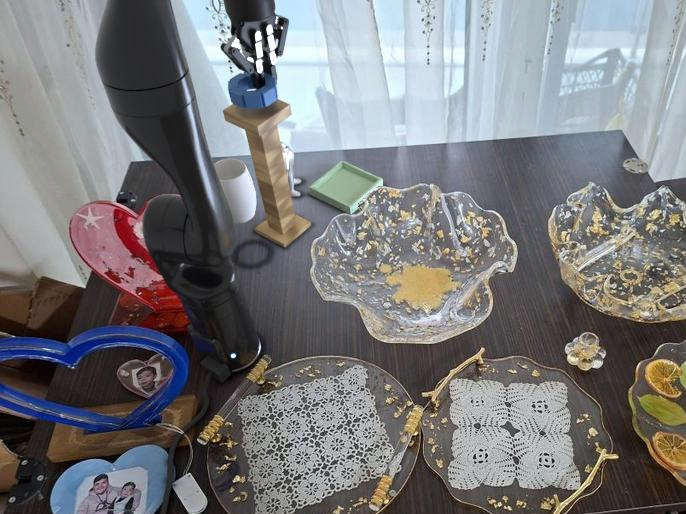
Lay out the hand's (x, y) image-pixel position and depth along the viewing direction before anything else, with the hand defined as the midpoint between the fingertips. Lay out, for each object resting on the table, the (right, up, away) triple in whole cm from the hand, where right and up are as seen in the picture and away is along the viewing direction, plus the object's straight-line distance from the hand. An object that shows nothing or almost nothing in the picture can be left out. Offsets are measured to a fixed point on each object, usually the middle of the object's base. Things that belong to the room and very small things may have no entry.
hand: (266, 87), depth 104 cm
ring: (-2, -2, -1) cm, 3 cm away
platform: (-2, -21, +22) cm, 30 cm away
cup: (-7, -27, +18) cm, 33 cm away
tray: (+10, -11, +30) cm, 33 cm away
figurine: (-2, -11, +30) cm, 32 cm away
